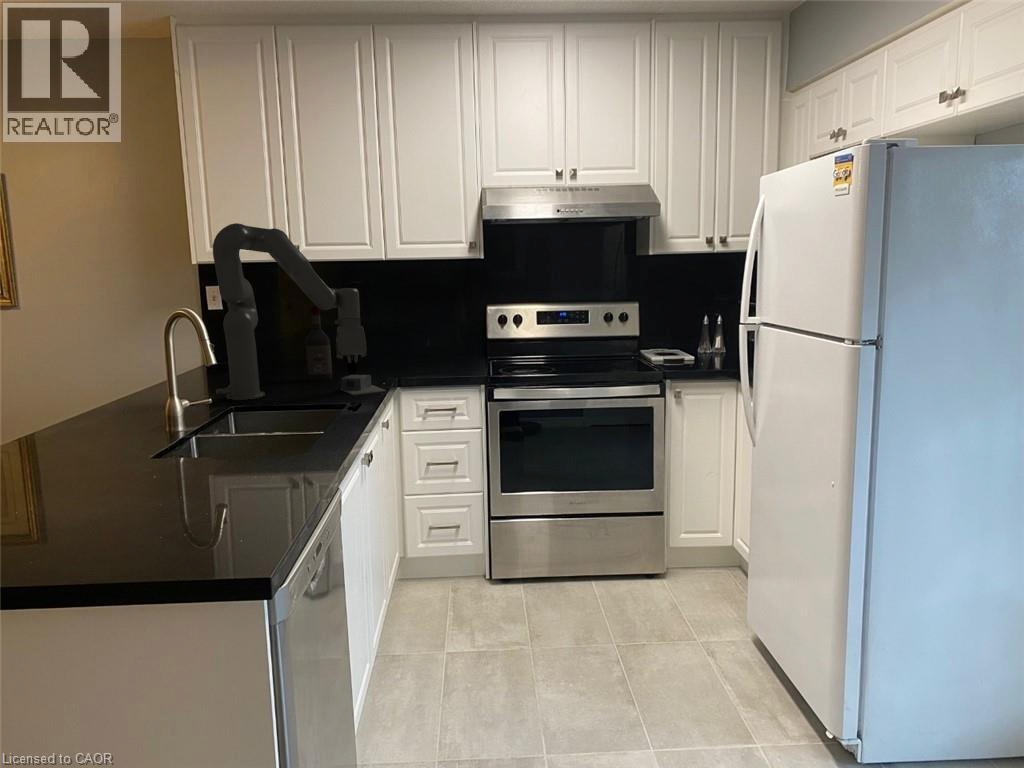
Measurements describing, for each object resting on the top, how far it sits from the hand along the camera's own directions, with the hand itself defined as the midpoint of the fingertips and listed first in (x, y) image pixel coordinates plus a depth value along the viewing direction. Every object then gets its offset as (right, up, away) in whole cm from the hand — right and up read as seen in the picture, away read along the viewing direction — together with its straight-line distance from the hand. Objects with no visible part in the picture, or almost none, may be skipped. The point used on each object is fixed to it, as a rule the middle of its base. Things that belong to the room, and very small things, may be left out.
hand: (352, 373), depth 251 cm
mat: (+3, -6, +3) cm, 8 cm away
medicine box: (-1, -4, +1) cm, 4 cm away
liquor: (-20, -2, +31) cm, 37 cm away
